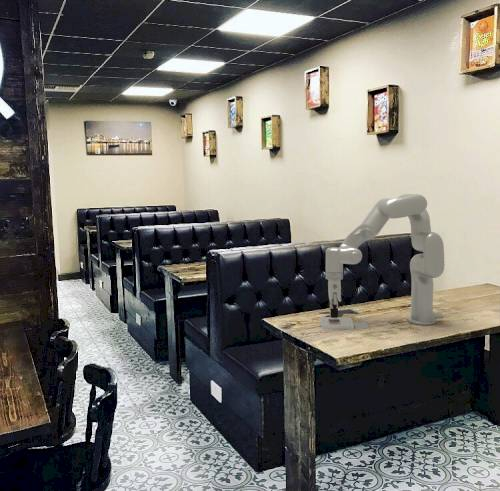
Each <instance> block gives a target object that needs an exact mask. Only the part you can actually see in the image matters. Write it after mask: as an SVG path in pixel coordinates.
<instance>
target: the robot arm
mask: <svg viewBox="0 0 500 491" xmlns="http://www.w3.org/2000/svg"><path fill="white" fill-rule="evenodd" d="M427 201H428V200H427V199H426V198H425V197H424V196H423V195H421V194H417V193H415V194H414V193H404V194H401V195H400V196H398V197H397V198H382V199H380V200H378V201H377V202H376V204H374V206H373V207H372V209H371V211H370V212H369V213H368V215H367V216H366V217H365V219H364V220H363V221H362V222H361V224H360V225H358V226H357V227H356V228H355V229H354V230H353V231H351V232H350V233H349V234H348V235H347V236H346V237H345V239H344V240H343V241H342V243H341V244H340V246H339V247H337V246H336V247H335V246H334V247H333V246H332V247H328V248H326V249H325V280H328V281H327V286H328V287H327V289H328V290H327V291H328V299H329V303H330V302H331V317H338V310H339V303H341V302H342V284H341V283H342V282H341V280H343V279H344V264H345V265H357V264H359V263H360V262H361V261H362V259H363V253H362V251H361V250H360V249H359V247H360V246H361V245H362V244H363V243H365V242H366V241H369V240H371V239H373V238H374V237H376V236H378V235H379V234H380V232H381V231H382V230H383V228H384V226H385V225H387V223H388V221H389V220H390V219H401V218H406V217H408V219H409V222H410V223H409V225H410V235H411V236H410V237H411V245H412V248H413V249H414V250H416V251H417V252H422V253H417V254H415V255H413V257H412V258H411V259H410V262H409V270H410V277H411V278H410V279H411V286H410V288H411V293H410V294H411V296H410V297H411V298H410V316H408V317H407V318H406V320H407V322H408V323H410V324H413V325H418V326H421V325H422V326H430V325H435V324H436V322H437V319H444V317H445V316H444V314H443V313H442V314H441V313H435V312H433V311H434V310H433V308H434V280H433V279H437V278H439V277H441V276H442V274H443V273H444V271H445V247H444V241H443V238H442V237H441V235H440V234H439V233H437V232H434V231H432V228H431V218H430V215H429V212H428V211H427V206H428V202H427Z"/></svg>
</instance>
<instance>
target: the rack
mask: <svg viewBox="0 0 500 491" xmlns="http://www.w3.org/2000/svg"><path fill="white" fill-rule="evenodd" d="M319 324H320V329H321V330H354V327H355V329H369V328H370V326H369V324H368V322H353V318H352V317H349V316H348V317H347V316H346V317H344V316H341V317H338V318H330V317H324V316H320V317H319Z"/></svg>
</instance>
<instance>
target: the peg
mask: <svg viewBox="0 0 500 491" xmlns="http://www.w3.org/2000/svg"><path fill="white" fill-rule="evenodd" d="M329 311H330V314H329V315H330V318H338V317H331V302H330V301H329Z"/></svg>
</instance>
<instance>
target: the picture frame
mask: <svg viewBox="0 0 500 491" xmlns="http://www.w3.org/2000/svg"><path fill="white" fill-rule="evenodd" d="M315 315H324V316H323V317H330V310H324V311H316V312H313V316H315ZM344 315H364V313H363V312H360V311H359V310H356V309H354V308H342V309H338V317H343V316H344Z"/></svg>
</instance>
